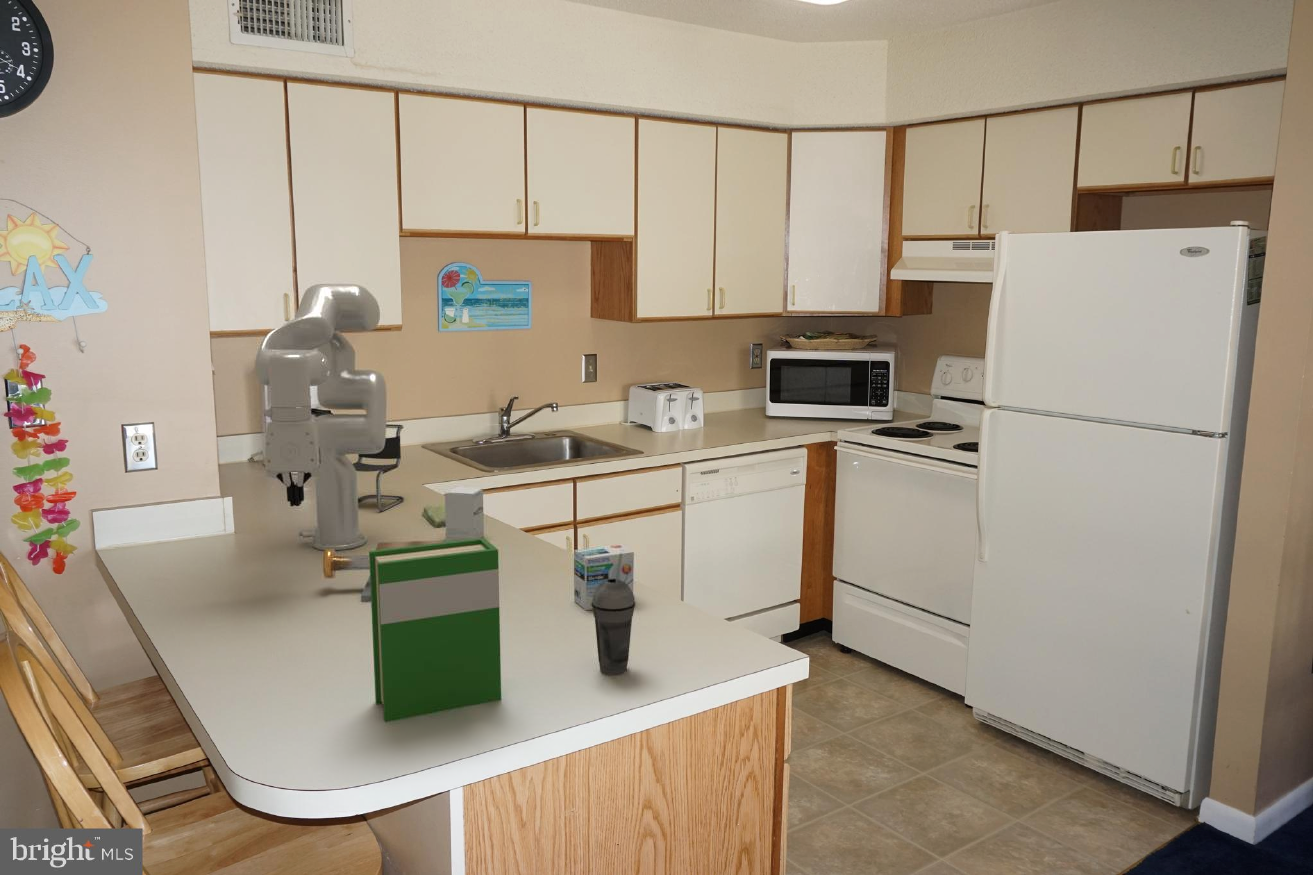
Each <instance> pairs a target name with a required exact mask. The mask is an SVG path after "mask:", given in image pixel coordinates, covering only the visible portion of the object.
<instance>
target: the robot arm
mask: <svg viewBox="0 0 1313 875" xmlns="http://www.w3.org/2000/svg"><path fill="white" fill-rule="evenodd" d="M380 318H381V312H380V306H379V303H378V301H377V298H376V297H375V296H374V295H373V294H372V293H371V292H370V291H369V290H368V289H367V288H366V287H363V286H362V285H359V284H356V283H355V284H353V283H319V284H313V285H311V286H310V287H308V288H307V289H306V290H305V292H303V295H302V298H301V301H300V303H299V306H298V308H297V310H296V314H295V317H294V318H293V319H291V320H289V321H287V322H285V323H283V324H282V325H280V326H278V327H276V328H274V329H273V330H271V331H270V332H268V333H267V335H265V337H264V338H263V339H262V341H261V344H260V345H259V348H258V351H257V353H256V357H255V360H254V375H255V377H256V380H257V381H258V382H259V383H260V384H262V385H264V386H267V387H269V397H270V400H269V401H270V407H269V408H267V409H263V412H262V414H263V417H268V418H269V419H270V421H269V422H267V424H266V428H265V438H264V439H265V442H264V467H265V469H266V470H265V475H266V477H268V478H271V479H272V478H273V479H278V481H279V482H281V483H282V484H283V485H284V487H285V488H286V499H287V500H286V501H287V502H288V503H289V505H290V507H294V506H295V507H300V506H301V505H302V502H304V500H305V492H304V491H305V490H304V488H305V486H304V485H305V484H306V482H308V480H309V479H311V478H314V482H315V485H314V486H315V502H316V503H315V504H316V519H317V521H316V522H317V525H315V526H313V527H312V528H311V527H310V528H308V527H307V528H306V527H301V528H299V530H298V535H299V537H302V538H305V539H306V538H312V540H311V546H312V547H313V548H314V549H318V550H321V551H322V550H323V551H325V549H335V551H343V550H350V549H354V548H358V547H361V546H363V545H365V544H366V543H367V536H365V534H362V533H360V521H359V517H360V516H359V502H358V498H359V497H358V496H359V495H358V493H359V492H358V476H357V475H358V474H357V473H358V472H357V471H356V470H355V467H354V466H353V463H352V461H351V460H350V459H349V458H348V457H347V455H358V454H375V453H379V452H380V451H382V450H383V448H384V445H385V440H386V438H387V428H386V424H387V386H386V385H387V384H386V380H385V377H384V376H383V374H382V373H381V372H379V371H377V370H371V369H356V351H355V349H354V346H352V344H351V343H350V341H349V340H348V339H347V338H346V337H345V336H344V335H343V334H342V333H341V332H342V331H343V332H351V331H352V332H353V331H354V332H366V331H367V332H368V331H369V332H370V331H373V330H375V329H376V328H377V326H378V325H379V322H380ZM340 331H341V332H340ZM316 349H317V350H316ZM315 386H317V387H316V394H317V400H318V401H317V402H318V403H319V405H320V407H322V408H324V409H327V410H333V411H334V410H336V411H337V410H338V411H341V410H343V411H345V410H346V411H348V410H351V411H352V410H354V411H355V410H356V411H357V410H361V411H365V412H366V413H362V414H360V413H358V414H357V413H354V414H353V413H351V414H349V413H341V414H339V413H335V414H333V413H332V414H331V413H329V414H323V415H322V414H321V415H319V416H316V417H315V418H313V419H312V402H311V401H312V398H311V397H312V396H311V387H315ZM292 473H297V476H296V477H297V478H296V482H295V481H294V479H293V474H292Z"/></svg>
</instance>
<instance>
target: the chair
mask: <svg viewBox="0 0 1313 875" xmlns="http://www.w3.org/2000/svg"><path fill="white" fill-rule="evenodd" d="M403 428H404V425H402V424H389V423H386V429H396V433H395V436H392V437H386V440H385V445H384V448H383V450H382V451H380V452H379V453H375V454H357V456H358V458H357V459H358V460H357V461H356V462H353V463H352V464H353V466H354V467H355V470H356V472H362V473H364V472H365V473H366V472H378V473H377V474H376V476H375V477H376V478H375V481H376V482H375V487H376V492H375V493H376V494H366V495H362V496H360V497H358V503H360V502H362V501H364V499H365V500H368V499H369V498H371V499H376V507H377V509H378V511H380V512H385V511H387V510H388V509H390V508H393V507H395V506H396V504H397V505H399V504H400V502H401V503H402V502H404V496H401V495H389V494H386V495H384V494H381V477H382V475H384V474H387V473H388V472H390V471H392V470H395V469H397V468H399V466H400V464H401V458H402V453H401V431H402V430H403ZM363 458H365V459H372V460H373V459H374V460H375V459H376V460H377V459H378V460H396V462H395V463H392V464H370V463H364V462H363ZM381 498H384V499H383V500H394V501H392V502H390V503H389V504H387V505H384V506H383V507H382V499H381ZM396 499H398V500H396ZM398 503H399V504H398ZM392 506H393V507H392Z"/></svg>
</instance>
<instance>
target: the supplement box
mask: <svg viewBox="0 0 1313 875" xmlns="http://www.w3.org/2000/svg"><path fill="white" fill-rule="evenodd" d="M444 505H445V518H446V526H445V540H446V542H452V541H461V540H469V539H478V538H484V536H485V535H484V534H485V531H484V529H485V527H484V526H485V524H484V488H483V487H475V486H474V487H473V486H472V487H471V486H455V487H454V488H451V489H450V490H448V491H446V492H445V493H444Z"/></svg>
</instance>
